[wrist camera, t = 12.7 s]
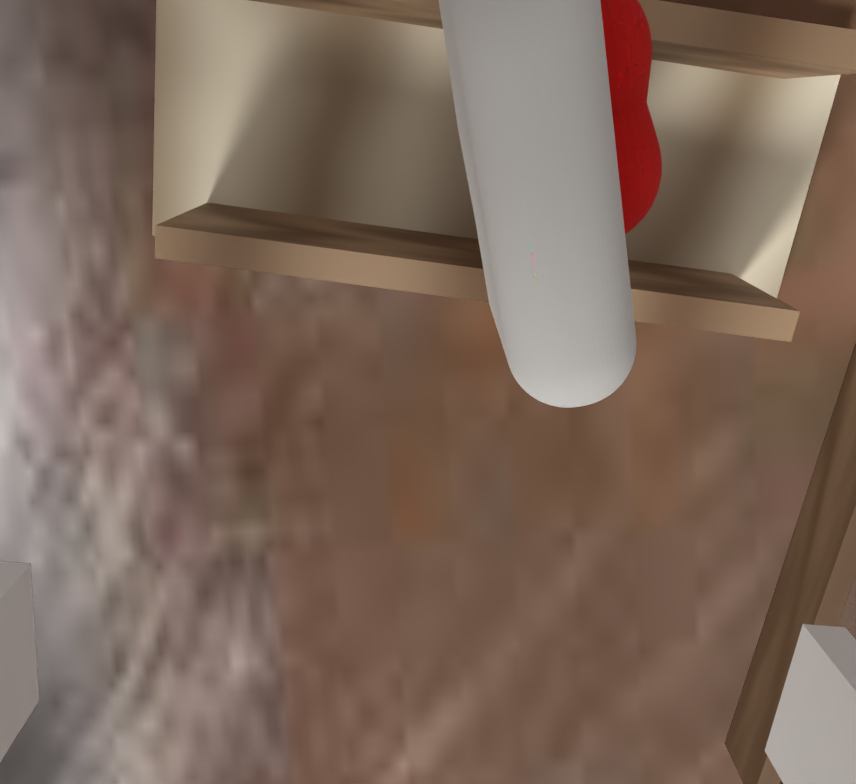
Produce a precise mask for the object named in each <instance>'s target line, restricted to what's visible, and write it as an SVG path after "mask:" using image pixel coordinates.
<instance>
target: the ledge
mask: <svg viewBox="0 0 856 784" xmlns="http://www.w3.org/2000/svg"><path fill="white" fill-rule="evenodd" d="M638 1H639V3H640V5H641V7H642V9H643V11H644V13H645V16H646V18H647V20H648V24H649V28H650V33H651V41H652V62H651V70H650V79H649V87H648V96H647V105H648V108H649V111H650V115H651V118H652V121H653V125H654V128H655V132H656V135H657V138H658V142H659V146H660V151H661V158H662V176H661V182H660V186H659V190H658V194H657V196H656V198H655V200H654V203H653V205H652V207H651V209H650V210H649V211H648V213H647V214H646V216H645V217H644V218H643V219H642V220H641V221H640V222H639V223H638V224H637V225H636V226H635V227H634V228H633V229H632V230H631V231H629V232H628V233H627V234H625V238H626V248H627V257H628V267H629V276H630V286H631V295H632V305H633V314H634V321H636V322H644V323H651V324H659V325H666V326H674V327H682V328H689V329H697V330H704V331H712V332H720V333H727V334H735V335H742V336H750V337H758V338H765V339H773V340H780V341H788V342H791V340H792V337H793V333H794V330H795V327H796V323H797V320H798V317H799V313H800V311H799V310H797V309H795V308H793V307H791V306H789V305H788V304H786V303H784V302H782V301H780V300H779V299H777V296H778V292H779V289H780V285H781V282H782V278H783V275H784V271H785V268H786V264H787V261H788V257H789V254H790V250H791V247H792V243H793V240H794V236H795V233H796V229H797V226H798V222H799V219H800V215H801V212H802V208H803V205H804V201H805V198H806V194H807V191H808V188H809V184H810V181H811V177H812V174H813V170H814V167H815V163H816V160H817V156H818V153H819V149H820V146H821V142H822V139H823V135H824V132H825V128H826V125H827V121H828V118H829V114H830V111H831V107H832V104H833V100H834V97H835V93H836V90H837V86H838V83H839V79H840V76H841V75H842V74H855V73H856V30H853V29H846V28H840V27H833V26H827V25H820V24H813V23H807V22H800V21H793V20H787V19H780V18H773V17H767V16H760V15H754V14H747V13H740V12H734V11H727V10H720V9H714V8H707V7H700V6H694V5H687V4H681V3H674V2H667V1H661V0H638ZM152 236H155V258H158V259H165V260H173V261H180V262H188V263H196V264H203V265H211V266H218V267H226V268H234V269H241V270H249V271H256V272H264V273H271V274H279V275H287V276H294V277H302V278H309V279H317V280H325V281H332V282H340V283H347V284H355V285H363V286H370V287H378V288H385V289H393V290H401V291H408V292H416V293H423V294H431V295H439V296H446V297H454V298H461V299H469V300H477V301H484V302H489V300H488V294H487V288H486V282H485V276H484V270H483V264H482V258H481V252H480V246H479V240H478V234H477V228H476V222H475V217H474V211H473V206H472V201H471V195H470V190H469V185H468V180H467V174H466V169H465V164H464V158H463V153H462V148H461V143H460V137H459V132H458V126H457V119H456V112H455V105H454V98H453V91H452V85H451V78H450V71H449V64H448V57H447V50H446V44H445V37H444V31H443V25H442V19H441V13H440V7H439V1H438V0H156V52H155V109H154V166H153V222H152Z"/></svg>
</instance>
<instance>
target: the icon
mask: <svg viewBox="0 0 856 784" xmlns="http://www.w3.org/2000/svg"><path fill="white" fill-rule="evenodd" d="M438 1H439V7H440V13H441V19H442V25H443V31H444V37H445V44H446V50H447V57H448V64H449V71H450V78H451V85H452V91H453V98H454V105H455V112H456V119H457V126H458V132H459V137H460V143H461V148H462V153H463V158H464V164H465V169H466V174H467V180H468V185H469V190H470V195H471V201H472V206H473V211H474V217H475V222H476V228H477V234H478V240H479V246H480V252H481V258H482V264H483V270H484V276H485V282H486V288H487V294H488V300H489V304H490V307H491V311H492V314H493V317H494V320H495V323H496V326H497V330H498V333H499V336H500V339H501V342H502V345H503V348H504V352H505V355H506V358H507V361H508V364H509V367H510V370H511V372H512V374H513V376H514V378H515V379H516V381H517V382H518V383H519V385H520V386H521V387H522V388H523V389H524V390H525V391H526V392H527V393H528V394H530V395H531V396H532V397H534V398H535V399H537V400H539V401H541V402H543V403H546V404H549V405H552V406H557V407H566V408H569V407H579V406H585V405H589V404H592V403H595V402H598V401H600V400H602V399H604V398H606V397H607V396H609V395H610V394H612V393H613V392H614V391H615V390H616V389H617V388H618V387H619V386H620V385H621V384H622V383H623V382H624V380H625V379H626V377H627V376H628V374H629V372H630V370H631V368H632V365H633V362H634V359H635V354H636V333H635V324H634V314H633V305H632V295H631V286H630V276H629V267H628V257H627V248H626V238H625V234H627V233H628V232H629V231H631V230H632V229H633V228H634V227H635V226H636V225H637V224H638V223H639V222H640V221H641V220H642V219H643V218H644V217H645V216H646V214H647V213H648V211H649V210H650V209H651V207H652V205H653V203H654V200H655V198H656V196H657V194H658V190H659V186H660V182H661V176H662V158H661V151H660V146H659V142H658V138H657V135H656V132H655V128H654V125H653V121H652V118H651V115H650V111H649V108H648V105H647V96H648V87H649V79H650V70H651V62H652V41H651V33H650V28H649V24H648V20H647V18H646V16H645V13H644V11H643V9H642V7H641V5H640V3H639V1H638V0H438Z"/></svg>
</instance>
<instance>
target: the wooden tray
mask: <svg viewBox="0 0 856 784" xmlns="http://www.w3.org/2000/svg"><path fill="white" fill-rule="evenodd" d="M855 575H856V345H855V348H854V351H853V354H852V357H851V360H850V363H849V366H848V369H847V372H846V375H845V378H844V382H843V385H842V388H841V391H840V394H839V397H838V400H837V403H836V406H835V409H834V412H833V415H832V418H831V421H830V424H829V427H828V430H827V433H826V436H825V440H824V443H823V446H822V449H821V452H820V455H819V458H818V461H817V464H816V467H815V470H814V473H813V476H812V479H811V482H810V485H809V488H808V491H807V495H806V498H805V501H804V504H803V507H802V510H801V513H800V516H799V519H798V522H797V525H796V528H795V531H794V534H793V537H792V540H791V543H790V546H789V549H788V553H787V556H786V559H785V562H784V565H783V568H782V571H781V574H780V577H779V580H778V583H777V586H776V589H775V592H774V595H773V598H772V601H771V604H770V608H769V611H768V614H767V617H766V620H765V623H764V626H763V629H762V632H761V635H760V638H759V641H758V644H757V647H756V650H755V653H754V656H753V659H752V663H751V666H750V669H749V672H748V675H747V678H746V681H745V684H744V687H743V690H742V693H741V696H740V699H739V702H738V705H737V708H736V711H735V714H734V717H733V721H732V724H731V727H730V730H729V733H728V736H727V739H726V742H725V745H726V747H727V749H728V751H729V754H730V756H731V758H732V760H733V762H734V764H735V766H736V769H737V771H738V773H739V775H740V777H741V779H742V781H743V784H783V782H782V780H781V779H780V777H779V775H778V773H777V772H776V770H775V768H774V766H773V765H772V763H771V761H770V759H769V758H768V756H767V754H766V752H765V747H766V744H767V741H768V738H769V734H770V731H771V728H772V724H773V721H774V718H775V714H776V711H777V708H778V704H779V701H780V698H781V694H782V691H783V688H784V684H785V681H786V678H787V675H788V671H789V668H790V665H791V661H792V658H793V655H794V651H795V648H796V645H797V641H798V638H799V635H800V631H801V628H802V625H803V624H809V625H822V626H834V627H837V625H838V622H839V619H840V616H841V614H842V611H843V608H844V606H845V603H846V600H847V597H848V595H849V592H850V589H851V586H852V584H853V581H854V578H855Z"/></svg>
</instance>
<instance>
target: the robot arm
mask: <svg viewBox="0 0 856 784" xmlns="http://www.w3.org/2000/svg"><path fill="white" fill-rule="evenodd" d="M38 702H39V691H38V674H37V658H36V641H35V624H34V607H33V591H32V574H31V564H29V563H16V562H3V561H0V762H1V760H2V759H3V757H4V756H5V754H6V753H7V751H8V749H9V748H10V746H11V745H12V743H13V741H14V740H15V738H16V737H17V735H18V734H19V732H20V730H21V729H22V727H23V726H24V724H25V722H26V721H27V719H28V718H29V716H30V715H31V713H32V711H33V710H34V708H35V707H36V705H37V703H38ZM765 752H766V754H767V756H768V758H769V759H770V761H771V763H772V765H773V766H774V768H775V770H776V772H777V773H778V775H779V777H780V779H781V780H782V782H783V784H856V639H855V638H854V637H853V636H852V635H851V634H850V632H849V631H848V630H847V629H846V628H845V627H834V626H822V625H809V624H803V625H802V628H801V631H800V635H799V638H798V641H797V645H796V648H795V651H794V655H793V658H792V661H791V665H790V668H789V671H788V675H787V678H786V681H785V684H784V688H783V691H782V694H781V698H780V701H779V704H778V708H777V711H776V714H775V718H774V721H773V724H772V728H771V731H770V734H769V738H768V741H767V744H766V747H765Z"/></svg>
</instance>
